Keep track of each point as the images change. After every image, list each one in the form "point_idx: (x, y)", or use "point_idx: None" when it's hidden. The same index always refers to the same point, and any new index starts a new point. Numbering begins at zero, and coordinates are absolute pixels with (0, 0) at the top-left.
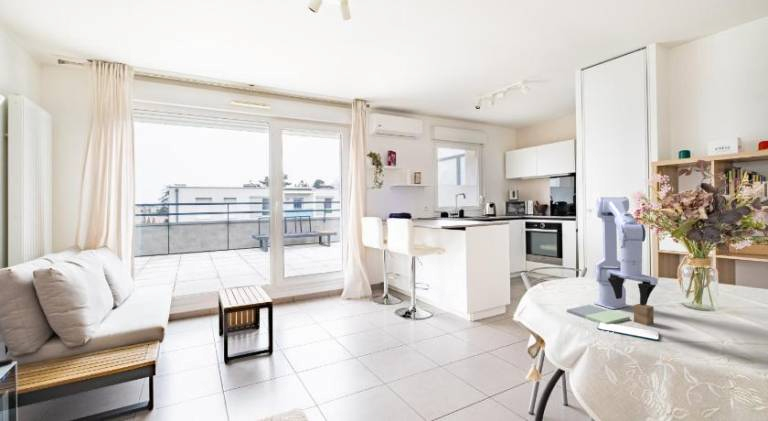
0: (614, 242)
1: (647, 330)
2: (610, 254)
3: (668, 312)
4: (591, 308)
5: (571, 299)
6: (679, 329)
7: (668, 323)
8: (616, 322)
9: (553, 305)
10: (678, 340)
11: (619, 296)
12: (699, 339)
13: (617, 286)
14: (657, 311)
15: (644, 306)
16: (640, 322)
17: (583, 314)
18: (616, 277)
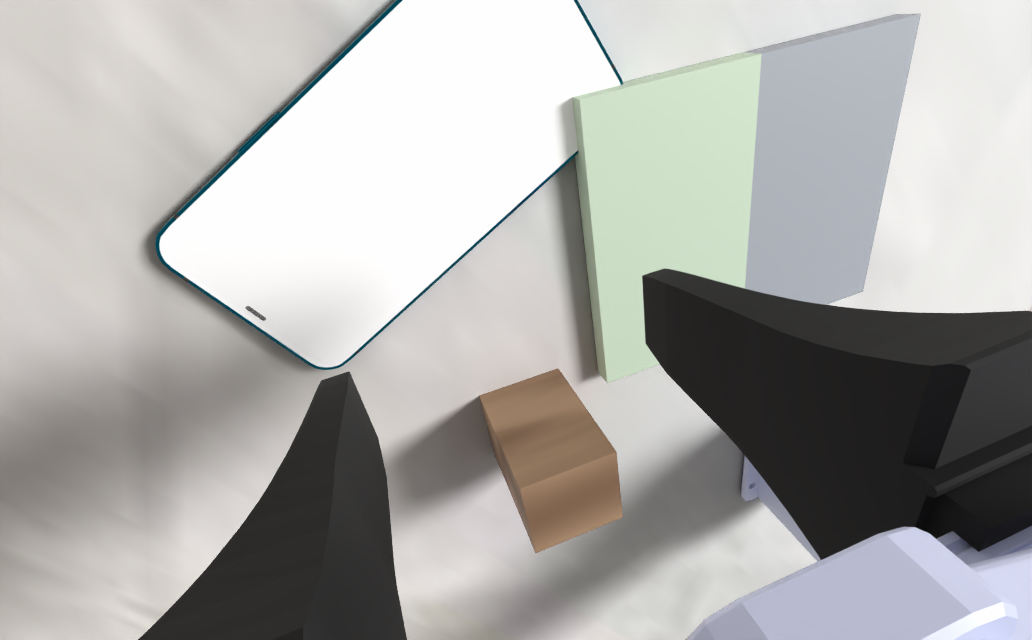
0: None
1: (366, 321)
2: None
3: (601, 609)
4: (820, 246)
5: (977, 275)
6: None
7: (476, 529)
8: (584, 238)
9: (1022, 34)
10: (179, 406)
11: (660, 321)
12: (199, 533)
13: (776, 373)
14: (630, 575)
15: (561, 500)
16: (519, 388)
17: (783, 62)
18: (967, 495)
